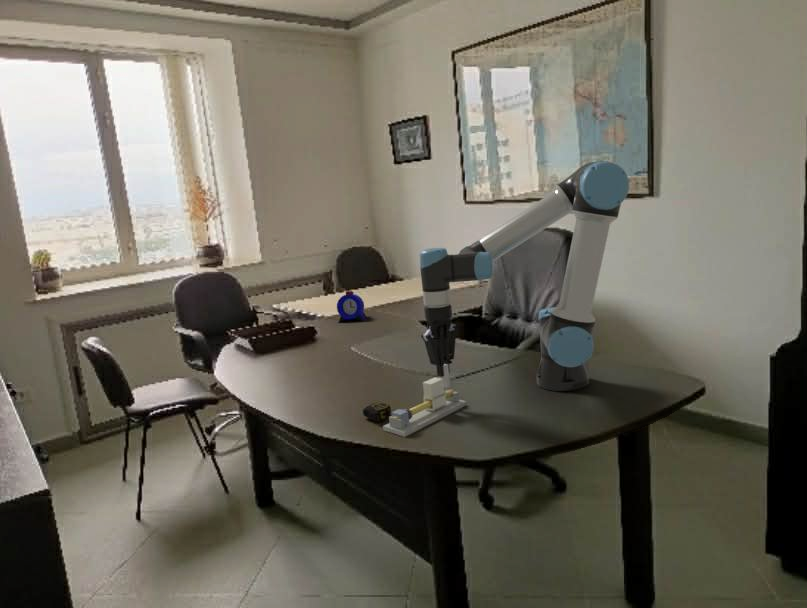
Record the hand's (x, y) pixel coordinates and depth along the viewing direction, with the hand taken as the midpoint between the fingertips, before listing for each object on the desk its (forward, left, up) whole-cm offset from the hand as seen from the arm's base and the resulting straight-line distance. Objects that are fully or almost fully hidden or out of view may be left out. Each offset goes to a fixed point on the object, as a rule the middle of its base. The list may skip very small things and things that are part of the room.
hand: (444, 386), depth 173 cm
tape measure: (+11, +17, -7) cm, 21 cm away
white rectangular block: (0, +5, -5) cm, 7 cm away
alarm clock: (+117, -65, -6) cm, 134 cm away
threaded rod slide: (0, +9, -6) cm, 11 cm away
